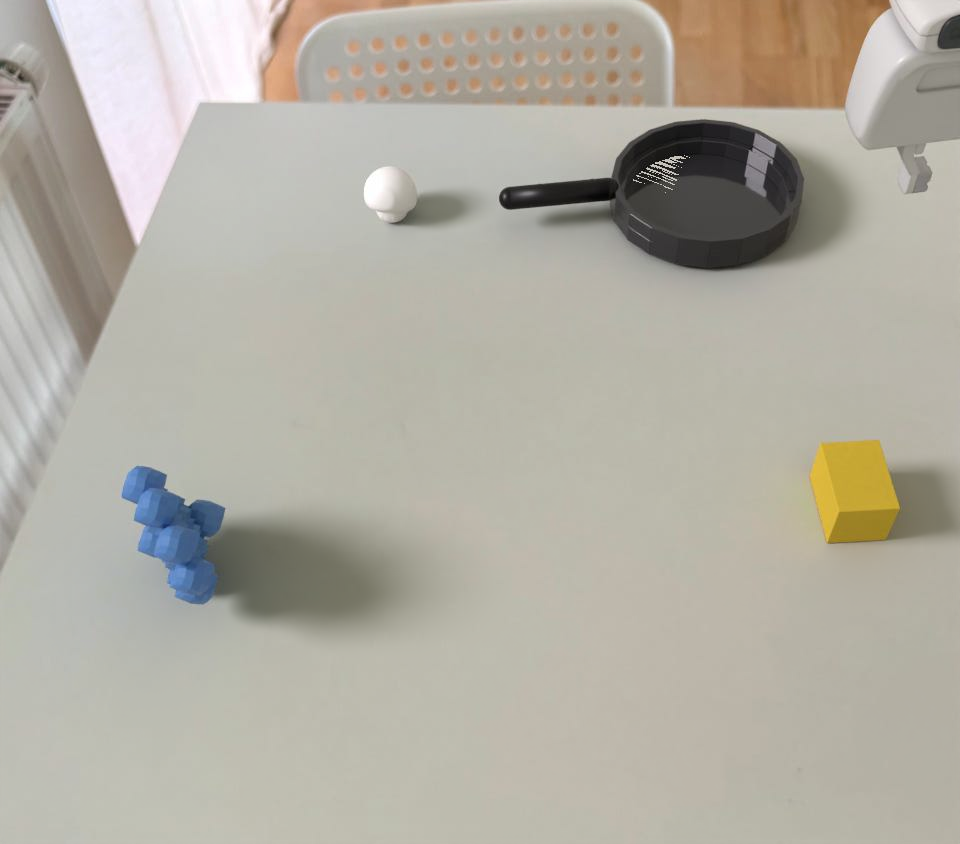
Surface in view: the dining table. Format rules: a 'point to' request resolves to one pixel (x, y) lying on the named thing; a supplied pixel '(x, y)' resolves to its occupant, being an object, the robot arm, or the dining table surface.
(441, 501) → the dining table surface
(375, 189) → the mushroom
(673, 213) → the pan
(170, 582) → the grapes
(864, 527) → the yellow block
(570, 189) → the pan handle
